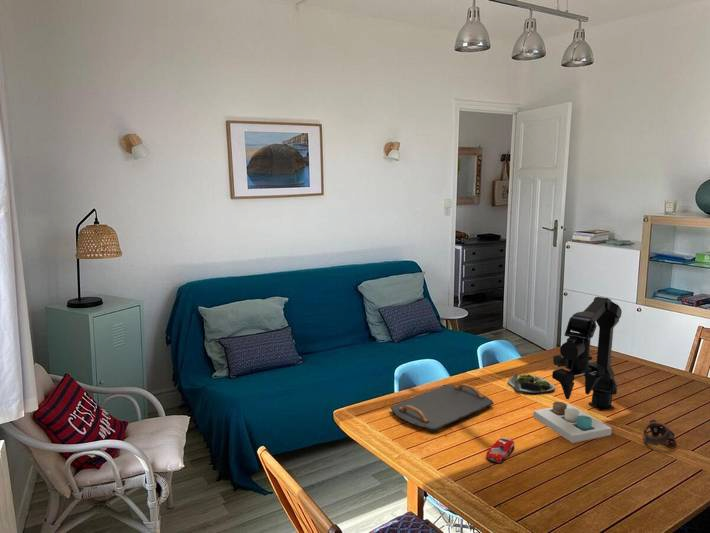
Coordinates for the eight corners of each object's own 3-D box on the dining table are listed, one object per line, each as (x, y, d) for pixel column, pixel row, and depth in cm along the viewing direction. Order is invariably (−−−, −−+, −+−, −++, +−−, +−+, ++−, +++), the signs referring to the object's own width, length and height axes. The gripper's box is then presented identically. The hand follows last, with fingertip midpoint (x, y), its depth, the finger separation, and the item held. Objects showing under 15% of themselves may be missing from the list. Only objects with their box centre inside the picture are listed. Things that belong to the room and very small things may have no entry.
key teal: (584, 423, 182) (584, 414, 182) (594, 429, 178) (595, 420, 177) (573, 425, 181) (574, 416, 180) (583, 431, 176) (583, 422, 176)
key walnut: (560, 409, 193) (560, 400, 193) (569, 414, 189) (569, 405, 189) (549, 411, 192) (550, 402, 191) (558, 416, 188) (559, 407, 187)
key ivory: (571, 416, 188) (572, 407, 187) (581, 421, 183) (582, 412, 183) (561, 418, 186) (561, 409, 186) (570, 423, 182) (571, 414, 181)
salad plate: (496, 379, 229) (497, 369, 228) (534, 376, 232) (534, 365, 232) (520, 397, 210) (520, 386, 209) (560, 393, 214) (561, 382, 213)
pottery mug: (684, 453, 168) (677, 434, 165) (654, 462, 170) (646, 444, 167) (666, 426, 179) (659, 409, 176) (638, 436, 181) (631, 418, 178)
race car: (499, 466, 160) (500, 454, 159) (483, 460, 164) (483, 448, 163) (517, 449, 170) (517, 437, 170) (501, 443, 174) (501, 432, 173)
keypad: (569, 410, 197) (569, 404, 197) (611, 435, 179) (611, 428, 178) (533, 417, 192) (533, 410, 192) (572, 443, 173) (572, 435, 173)
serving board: (452, 388, 219) (452, 374, 218) (499, 407, 201) (500, 391, 200) (383, 415, 195) (383, 399, 194) (430, 439, 177) (430, 422, 176)
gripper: (581, 341, 188) (578, 383, 191) (541, 349, 180) (538, 392, 183) (607, 350, 178) (604, 394, 181) (566, 359, 170) (563, 405, 173)
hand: (577, 396), depth 180 cm, fingers open, 9 cm apart
